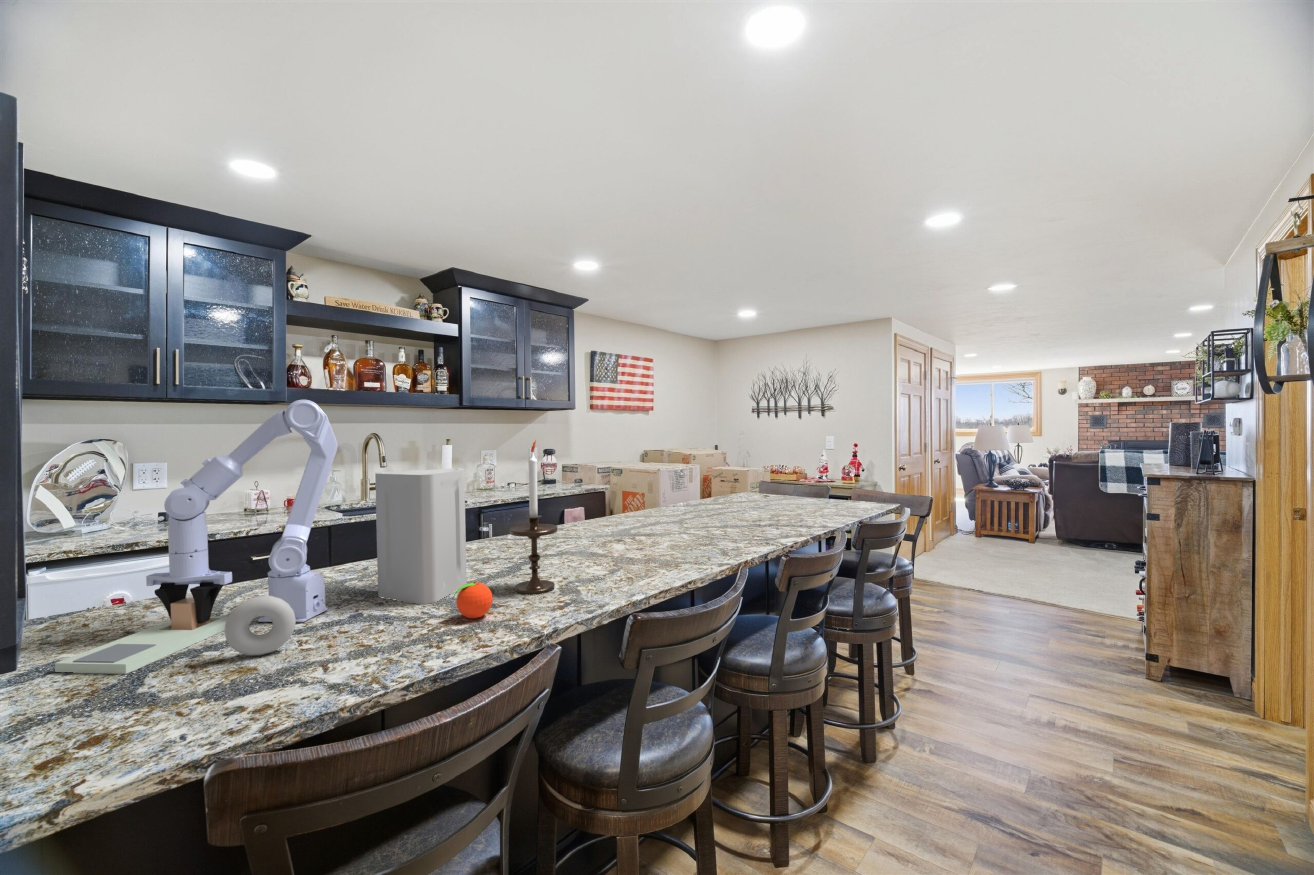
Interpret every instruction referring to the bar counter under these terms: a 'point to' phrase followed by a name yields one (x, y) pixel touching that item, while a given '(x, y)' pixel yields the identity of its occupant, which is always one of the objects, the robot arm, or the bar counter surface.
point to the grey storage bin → (420, 534)
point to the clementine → (474, 600)
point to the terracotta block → (184, 615)
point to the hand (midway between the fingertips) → (191, 622)
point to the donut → (265, 643)
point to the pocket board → (139, 648)
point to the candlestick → (533, 536)
